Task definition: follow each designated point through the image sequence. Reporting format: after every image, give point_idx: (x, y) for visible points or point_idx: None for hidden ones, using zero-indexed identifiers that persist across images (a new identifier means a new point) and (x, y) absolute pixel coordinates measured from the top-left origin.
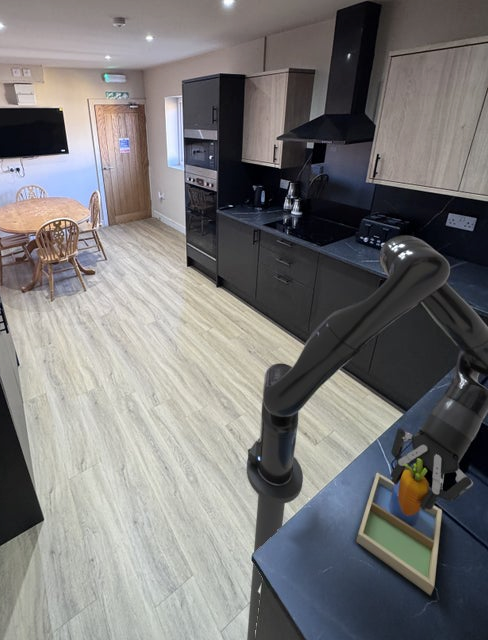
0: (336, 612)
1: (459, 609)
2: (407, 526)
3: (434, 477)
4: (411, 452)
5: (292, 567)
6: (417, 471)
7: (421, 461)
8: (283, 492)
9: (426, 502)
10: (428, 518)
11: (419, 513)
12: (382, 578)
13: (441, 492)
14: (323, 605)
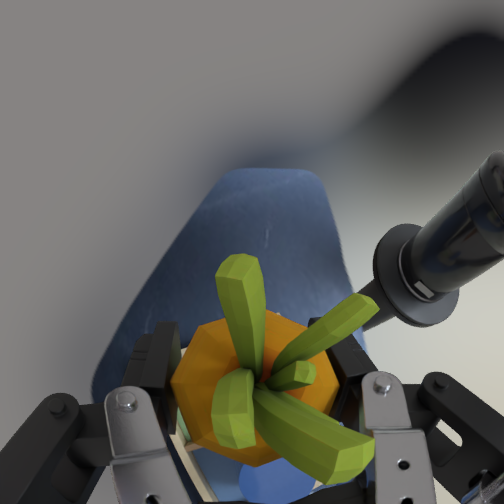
0: (221, 210)
1: (114, 388)
2: None
3: (153, 457)
4: (424, 466)
5: (291, 196)
6: (281, 401)
7: (326, 463)
8: (387, 256)
9: (154, 338)
10: (228, 494)
11: (236, 472)
12: (209, 312)
13: (101, 422)
14: (236, 201)
